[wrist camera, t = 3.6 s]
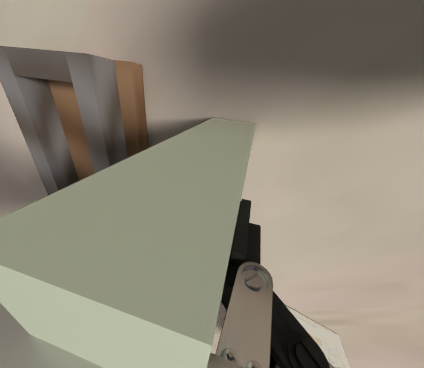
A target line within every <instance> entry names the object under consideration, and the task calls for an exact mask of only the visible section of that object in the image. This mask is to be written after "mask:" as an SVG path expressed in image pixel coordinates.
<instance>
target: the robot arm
mask: <svg viewBox="0 0 424 368" xmlns="http://www.w3.org/2000/svg"><path fill="white" fill-rule="evenodd" d="M250 208H251V201H249V200H245V199H242V201H240V206H239V211H238V216H237V221H236V226H235V231H234V236H233V241H232V246H231V252H230V257H229V262H228V267H227V272H226V277H225V282H224V287H223V294H222V301H221V302H222V303H223V305H224V307H225V309H226V310H227V311H226V315H225V319H224V323H223V327H222V331H221V335H220V338H219V342H218V346H217V350H216V354H215V355H214V354H212V353H210V356H209V360H208V364H207V368H335V367H333V366H332V365H331V364H330V363H329V362H328V360H327V358H326V356H325V354H324V352H323V351H322V350H321V348H320V347H319V345H318V344H317V343H316V342H315V341H314V339H313V338H312V337H311V336H310V335H309V333H308V332H307V331H306V330H305V329H304V327H303V326H302V325H301V324H300V323H299V321H298V320H297V319H296V318H295V317H294V315H293V314H292V313H291V312H290V311H289V309H288V308H287V307H286V306H285V305H284V303H283V302H282V301H281V300H280V299H279V297H278V296H277V295H276V294H275V293H274V291H273V280H272V277H271V275H270V273H269V272H268V271H267V269H265V268H264V267H263V266H262V265H260V229H261V228H260V225H256V224H252V223H249V219H250ZM0 368H103V367H101V366H99V365H96V364H94V363H92V362H90V361H88V360H85V359H83V358H81V357H79V356H77V355H74V354H72V353H70V352H68V351H66V350H63V349H61V348H59V347H57V346H55V345H52V344H50V343H48V342H46V341H44V340H41V339H39V338H37V337H35V336H33V335H30V334H29V333H28V332H27V331H26V330H25V329H24V328H23V327H22V325H21V324H20V323H19V322H18V321H17V320H16V319H15V318H14V317H13V316H12V315H11V314H10V313H9V312H8V310H7V309H6V308H5V307H4V306H3V305H2V304H1V303H0ZM338 368H339V367H338Z"/></svg>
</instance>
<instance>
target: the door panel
mask: <svg viewBox="0 0 424 368" xmlns="http://www.w3.org/2000/svg"><path fill="white" fill-rule="evenodd" d="M254 129H255V124H253V123H246V122H239V121H232V120H225V119H219V118H212V119H209V120H207V121H205V122H203V123H201V124H199V125H197V126H195V127H192V128H190V129H188V130H186V131H184V132H182V133H180V134H178V135H176V136H173V137H171V138H169V139H167V140H165V141H163V142H161V143H159V144H157V145H154V146H152V147H150V148H148V149H146V150H144V151H142V152H140V153H137V154H135V155H133V156H131V157H129V158H127V159H125V160H123V161H121V162H118V163H116V164H114V165H112V166H110V167H108V168H106V169H104V170H102V171H99V172H97V173H95V174H93V175H91V176H89V177H87V178H85V179H82V180H80V181H78V182H76V183H74V184H72V185H70V186H68V187H66V188H63V189H61V190H59V191H57V192H55V193H53V194H51V195H49V196H47V197H44V198H42V199H40V200H38V201H36V202H34V203H32V204H30V205H27V206H25V207H23V208H21V209H19V210H17V211H15V212H13V213H11V214H8V215H6V216H4V217H2V218H0V303H1V304H2V305H3V306H4V307H5V308H6V309H7V310H8V312H9V313H10V314H11V315H12V316H13V317H14V318H15V319H16V320H17V321H18V322H19V323H20V324H21V325H22V327H23V328H24V329H25V330H26V331H27V332H28V333H29V334H30V335H33V336H35V337H37V338H39V339H41V340H44V341H46V342H48V343H50V344H52V345H55V346H57V347H59V348H61V349H63V350H66V351H68V352H70V353H72V354H74V355H77V356H79V357H81V358H83V359H85V360H88V361H90V362H92V363H94V364H96V365H99V366H101V367H103V368H207V364H208V360H209V356H210V352H211V348H212V343H213V338H214V333H215V328H216V323H217V318H218V313H219V308H220V302H221V297H222V292H223V287H224V282H225V277H226V272H227V267H228V262H229V257H230V252H231V246H232V241H233V236H234V231H235V226H236V221H237V216H238V211H239V206H240V201H241V195H242V190H243V185H244V180H245V175H246V170H247V165H248V160H249V155H250V150H251V145H252V139H253V134H254Z"/></svg>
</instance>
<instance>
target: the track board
mask: <svg viewBox="0 0 424 368" xmlns="http://www.w3.org/2000/svg"><path fill="white" fill-rule="evenodd" d="M0 81H1V84H2V86H3V88H4V91H5V93H6V96H7V98H8V100H9V103H10V105H11V107H12V110H13V112H14V115H15V117H16V119H17V122H18V124H19V126H20V129H21V131H22V134H23V136H24V138H25V141H26V143H27V145H28V148H29V150H30V153H31V155H32V157H33V160H34V162H35V164H36V167H37V169H38V172H39V174H40V176H41V179H42V181H43V183H44V186H45V188H46V191H47V193H48V195H51V194H53V193H55V192H57V191H59V190H61V189H63V188H66V187H68V186H70V185H72V184H74V183H76V182H78V181H80V180H82V179H85V178H87V177H89V176H91V175H93V174H95V173H97V172H99V171H102V170H104V169H106V168H108V167H110V166H112V165H114V164H116V163H118V162H121V161H123V160H125V159H127V158H129V157H131V156H133V155H135V154H137V153H140V152H142V151H144V150H146V149H148V138H147V126H146V113H145V100H144V87H143V74H142V65H140V64H136V63H133V62H126V61H115V60H110V59H106V58H102V57H98V56H94V55H90V54H85V53H74V52H62V51H51V50H40V49H29V48H18V47H6V46H0Z"/></svg>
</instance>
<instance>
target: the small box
mask: <svg viewBox="0 0 424 368" xmlns="http://www.w3.org/2000/svg"><path fill="white" fill-rule="evenodd" d="M285 306H286V305H285ZM286 307H287V308H288V309H289V311H290V312H291V313H292V314H293V315H294V317H295V318H296V319H297V320H298V321H299V323H300V324H301V325H302V326H303V327H304V329H305V330H306V331H307V332H308V333H309V335H310V336H311V337H312V338H313V339H314V341H315V342H316V343H317V344H318V345H319V347H320V348H321V350H322V351H323V352H324V354H325V356H326V358H327V360H328V362H329V363H330V364H331V365H332V366H333V367H335V368H338V367H339V368H349V365H348V362H347V359H346V356H345V353H344V350H343V347H342V344H341V341H340V338H339V335H338V334H336V333H334V332H332V331H331V330H329V329H327V328H325V327H323V326H322V325H320V324H318V323H316V322H315V321H313V320H311V319H309V318H307V317H306V316H304V315H302V314H300V313H298V312H297V311H295V310H293V309H291V308H289V307H288V306H286Z"/></svg>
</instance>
